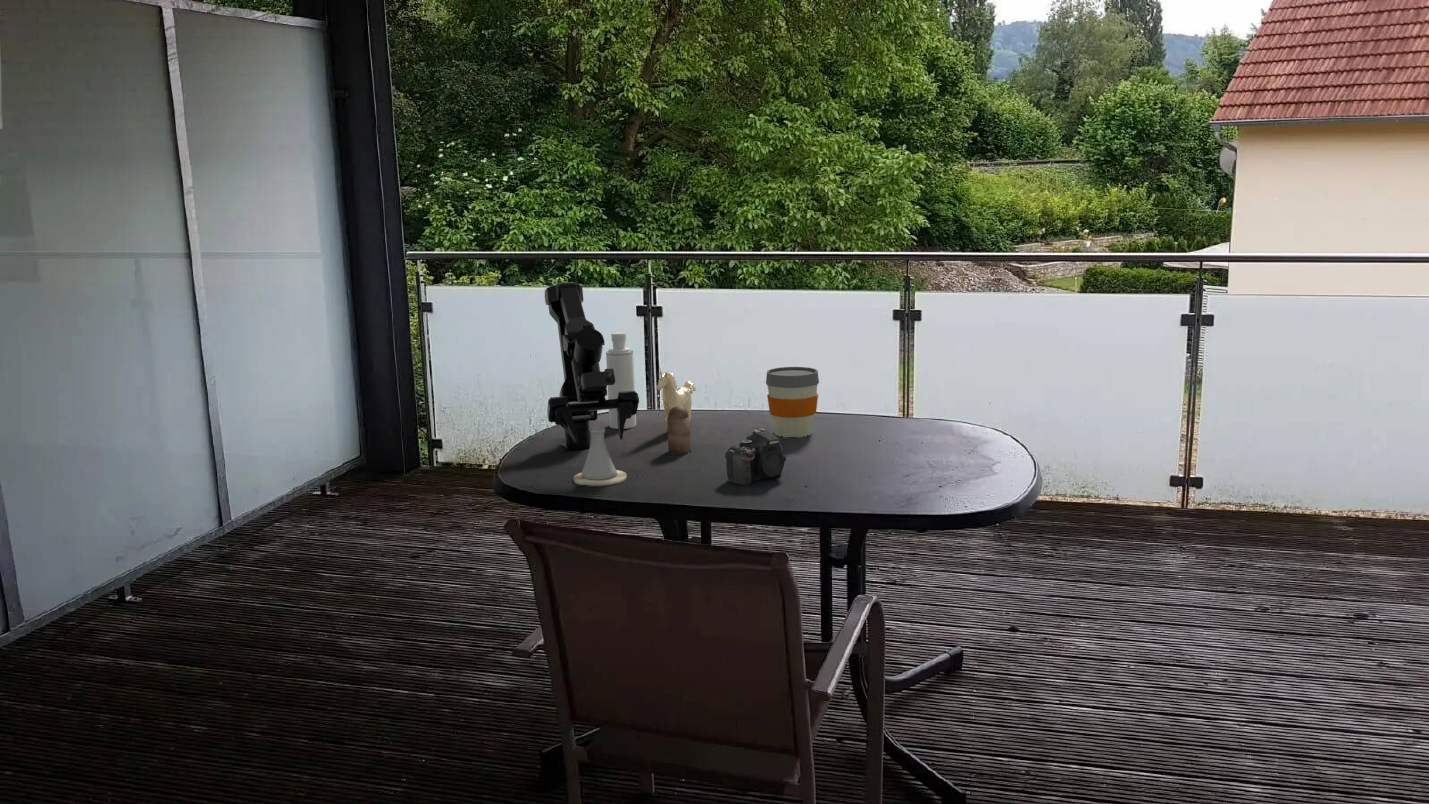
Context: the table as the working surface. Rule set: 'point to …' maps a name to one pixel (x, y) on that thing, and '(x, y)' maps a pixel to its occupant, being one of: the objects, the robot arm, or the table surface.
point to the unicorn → (675, 393)
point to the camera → (755, 458)
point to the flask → (598, 458)
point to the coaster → (601, 480)
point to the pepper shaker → (678, 430)
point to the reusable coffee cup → (792, 400)
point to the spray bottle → (620, 375)
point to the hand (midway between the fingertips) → (599, 440)
